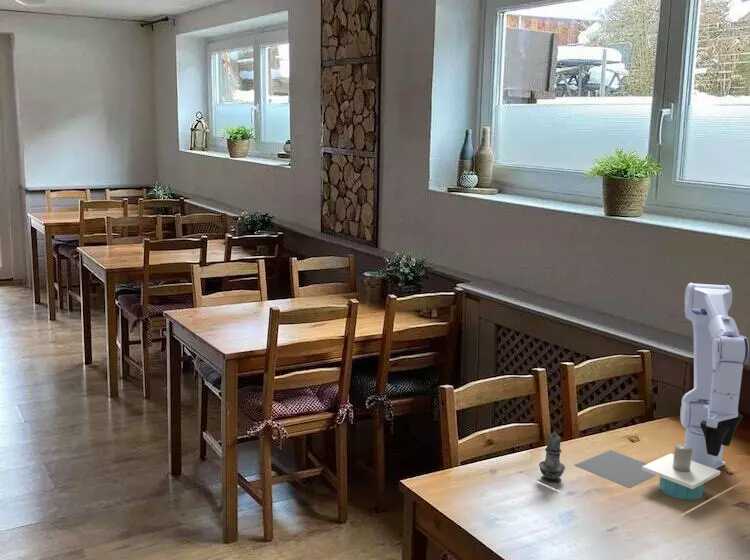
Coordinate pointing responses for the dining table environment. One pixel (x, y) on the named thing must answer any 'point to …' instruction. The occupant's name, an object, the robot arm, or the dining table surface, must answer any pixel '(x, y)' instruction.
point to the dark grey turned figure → (552, 461)
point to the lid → (681, 468)
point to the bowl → (680, 490)
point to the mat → (617, 468)
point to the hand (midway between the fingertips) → (718, 449)
